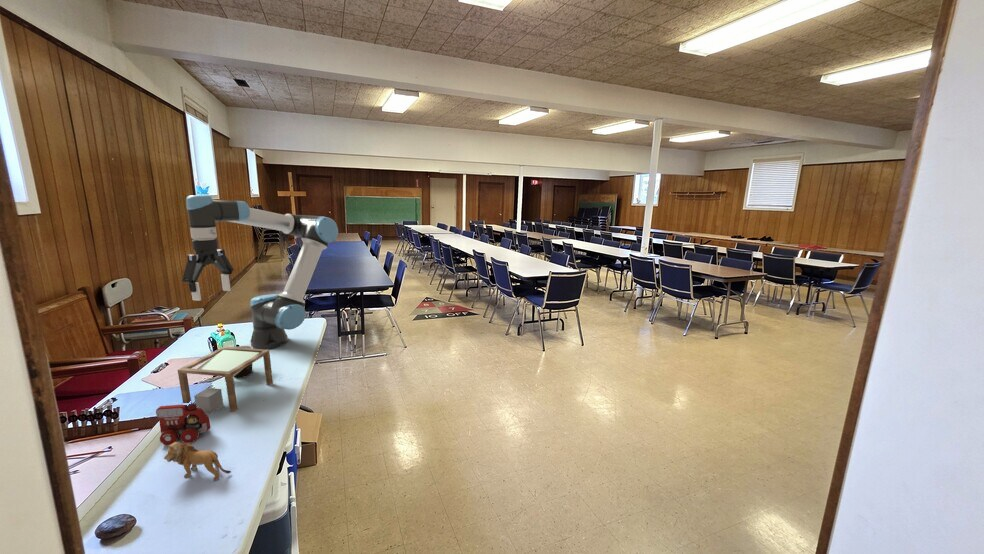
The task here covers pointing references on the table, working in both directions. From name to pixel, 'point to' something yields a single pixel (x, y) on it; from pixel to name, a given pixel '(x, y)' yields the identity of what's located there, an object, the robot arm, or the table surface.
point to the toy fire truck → (181, 423)
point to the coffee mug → (246, 370)
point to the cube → (209, 400)
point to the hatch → (228, 360)
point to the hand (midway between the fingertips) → (212, 295)
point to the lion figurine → (194, 458)
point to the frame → (223, 373)
